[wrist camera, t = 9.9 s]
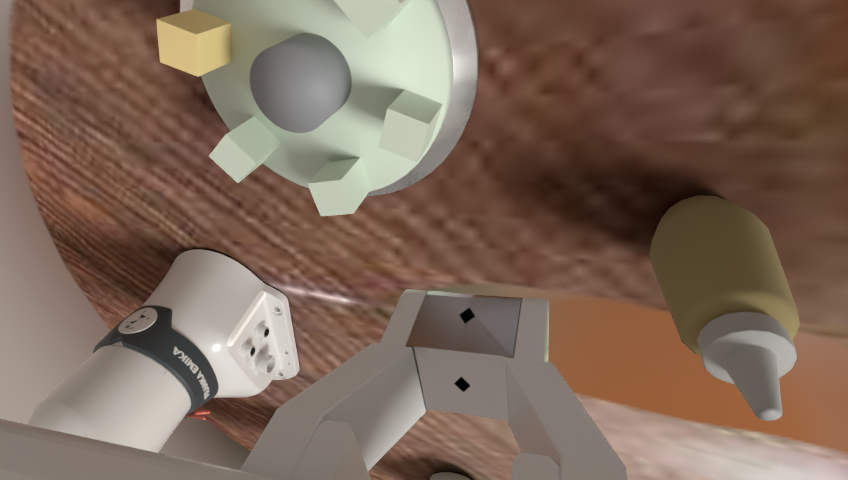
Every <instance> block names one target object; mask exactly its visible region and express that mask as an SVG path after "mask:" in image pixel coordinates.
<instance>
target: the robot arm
mask: <svg viewBox="0 0 848 480" xmlns="http://www.w3.org/2000/svg"><path fill="white" fill-rule="evenodd" d="M548 340H549V300H548V299H540V298H514V297H499V296H484V295H469V294H459V293H448V292H438V291H422V290H412V289H407V290H405V291H404V292H403V293H402V295H401V297H400V299H399V301H398V304H397V306H396V308H395V310H394V312H393V315H392V317H391V319H390V321H389V323H388V325H387V328H386V330H385V332H384V334H383V336H382V339H381V341H380V343H379V344H376V343H372V344H371V345H369V346H368V347H366V348H365V349H363V350H362V351H360V352H359V353H358V354H356V355H355V356H353V357H352V358H350V359H349V360H347V361H346V362H345V363H343V364H342V365H340V366H339V367H337V368H336V369H334V370H333V371H331V372H330V373H329V374H327V375H326V376H324V377H323V378H321V379H320V380H318V381H317V382H316V383H314V384H313V385H311V386H310V387H308V388H307V389H305V390H304V391H302V392H301V393H300V394H298V395H297V396H295V397H294V398H292V399H291V400H289V401H288V402H287V403H285V404H284V405H282V406H281V407H279V408H278V409H277V410H276V412H275V413H274V415H273V417H272V418H271V420H270V422H269V423H268V425H267V426H266V428H265V430H264V431H263V433H262V435H261V436H260V438H259V440H258V441H257V443H256V445H255V446H254V448H253V450H252V451H251V453H250V455H249V456H248V458H247V460H246V462H245V463H244V465H243V466H242V468H241V470H235V469H230V468H226V467H221V466H216V465H212V464H207V463H202V462H198V461H193V460H188V459H183V458H179V457H174V456H170V455H165V454H161V453H158V452H159V451H160V449H161V448H162V446H163V445H164V443H165V442H166V440H167V439H168V438H169V436H170V435H171V434H172V432H173V431H174V430H175V428H176V427H177V426H178V424H179V423H180V422H181V420H182V419H183V418H187V417H193V418H198V419H203V420H205V418H204V417H202V416H199V415H198V414H209V413H210V411H208V410H203V409H198V408H199V407H201V406H202V405H204V404H205V403H206V402H208V401H209V400H211V399H212V398H223V397H249V396H254V395H256V394H258V393H260V392H261V391H263V390H264V389H265V388H266V387H267V386H268V385H269V383H270V382H271V381H272V380H282V379H288V378H291V377H294V376H295V375H296V374H297V373H298V372H299V362H298V356H297V350H296V344H295V339H294V333H293V327H292V321H291V315H290V309H289V303H288V299H287V298H286V296H285V295H284V294H282V293H281V292H279V291H278V290H276V289H274V288H272V287H270V286H268V285H266V284H265V283H263V282H262V281H261V280H260V279H258V278H257V277H256V276H255V275H254V274H253V273H252V272H251V271H249V270H248V269H247V268H245V267H244V266H243V265H241V264H240V263H238V262H236V261H235V260H233V259H231V258H229V257H227V256H225V255H222V254H220V253H217V252H213V251H209V250H201V249H195V250H188V251H185V252H183V253H181V254H180V255H179V256H177V258H176V259H175V260H174V262H173V264H172V266H171V268H170V270H169V271H168V273H167V274H166V276H165V277H164V279H163V280H162V282H161V283H160V284H159V286H158V287H157V288H156V289H155V291H154V292H153V293H152V294H151V296H150V297H149V298H148V299H147V300H146V301H145V303H144V304H143V305H142V306H141V307H140V308H138V309H137V310H136V311H134V312H133V313H131V314H130V315H129V316H127V317H126V318H125V319H124V320H122V321H121V322H120V323H119V324H118V325H117V326H116V327H115V328H114V329H113V330H112V331H110V332H109V333H108V334H107V335H106V336H105V337H104V338H103V339H102V340H101V341H100V342H99V343H98V344H97V345H96V346H95V348H94V351H93V355H92V356H90V357H89V358H88V359H87V360H86V361H85V362H84V363H83V364H82V365H81V366H79V367H78V368H77V369H76V370H75V371H74V372H73V373H72V374H71V375H70V376H69V377H68V378H66V379H65V381H64V382H62V383H61V384H60V385H59V386H58V387H57V388H56V389H55V390H54V391H53V392H51V393H50V394H49V395H48V396H47V397H46V398H45V399H44V400H43V401H42V402H41V403H40V404H39V405H38V406H37V407H36V409H35V410H34V412H33V414H32V415H31V418H30V420H29V423H28V425H26V424H22V423H17V422H12V421H8V420H3V419H0V480H371V479H370V476H369V473H368V471H369V470H370V469H371V468H372V467H373V466H374V465H375V464H376V463H377V462H378V461H379V460H380V459H381V458H382V457H383V455H384V454H385V453H386V452H387V451H388V450H389V449H390V448H391V447H392V446H393V445H394V444H395V443H396V442H397V441H398V440H399V439H400V438H401V437H402V436H403V435H404V434H405V433H406V432H407V431H408V430H409V429H410V428H411V427H412V426H413V425H414V424H415V423H416V422H417V421H418V419H419V418H420V417H421V416H422V415H423V414H424V413H425V412H426V409H428V410H436V411H445V412H453V413H461V414H469V415H474V416H480V417H486V418H491V419H497V420H503V421H508V422H509V426H510V428H511V430H512V432H513V434H514V437H515V439H516V441H517V443H518V445H519V448H520V450H521V452H522V453H521V454H520V455H518V456H517V457H515V458H514V463H513V470H512V478H511V480H627V472H626V467H625V465H624V464H623V462H622V461H621V460H620V458H619V457H618V455H617V454H616V452H615V451H614V450H613V448H612V447H611V445H610V444H609V443H608V441H607V440H606V438H605V437H604V435H603V434H602V433H601V431H600V430H599V428H598V427H597V425H596V424H595V423H594V421H593V420H592V418H591V417H590V416H589V414H588V413H587V411H586V410H585V408H584V407H583V406H582V404H581V403H580V401H579V400H578V399H577V397H576V396H575V394H574V393H573V391H572V390H571V389H570V387H569V386H568V384H567V383H566V382H565V380H564V379H563V377H562V376H561V374H560V373H559V372H558V370H557V369H556V367H555V366H554V364H553V363H551V362H548V343H549V341H548Z"/></svg>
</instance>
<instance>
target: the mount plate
mask: <svg viewBox="0 0 848 480" xmlns="http://www.w3.org/2000/svg"><path fill="white" fill-rule="evenodd" d="M437 2H438V5H439V7H440V10H441V12H442V15H443V17H444V20H445V23H446V26H447V30H448V34H449V38H450V42H451V49H452V57H453V87H452V95H451V100H450V104H449V108H448V112H447V115H446V118H445V120H444V123H443V125H442V128H441V130H440V131H439V133H438V135H437V136H436V138H435V140H434V142H433V143H432V145H431V147H430V148H429V150H428V151H427V153H426V154H425V156H424V157H423V158H422V159H421V161H420V162H419V163H418V164H417V165H416V166H415V167H414V168H413V169H412V170H411V171H410V172H409V173H408V174H406V175H405V176H403V177H402V178H400V179H399V180H397V181H396V182H394V183H392V184H390V185H388V186H386V187H384V188H381V189H377V190H374V191H371V192H369V193H368V194H367V196H375V195H381V194H386V193H391V192H394V191H397V190H400V189H403V188H406V187H408V186H410V185H412V184H414V183H416V182H418V181H420V180H421V179H422V178H424V177H425V176H427V175H428V174H430V173H431V172H432V171H433V170H434V169H435V168H437V167H438V166H439V165H440V164H441V163H442V162H443V161H444V160H445V158H446V157H447V156H448V155H449V153H450V152H451V151H452V150H453V148H454V147H455V145H456V143H457V142H458V140H459V138H460V136H461V135H462V133H463V131H464V129H465V127H466V124H467V122H468V120H469V117H470V115H471V112H472V109H473V105H474V101H475V97H476V93H477V87H478V78H479V45H478V38H477V30H476V25H475V21H474V17H473V13H472V9H471V6H470V3H469V0H437ZM192 5H193V0H180V13H181V12H185V11H188V10H192Z"/></svg>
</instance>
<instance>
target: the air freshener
mask: <svg viewBox="0 0 848 480" xmlns="http://www.w3.org/2000/svg"><path fill="white" fill-rule="evenodd" d="M430 480H471V479H469V478H467V477H465V476H463V475H461V474H457V473H452V472H440V473H436V474H433V475H432V476H431V478H430Z"/></svg>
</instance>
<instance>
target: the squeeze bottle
mask: <svg viewBox="0 0 848 480" xmlns="http://www.w3.org/2000/svg"><path fill="white" fill-rule="evenodd" d="M649 258H650V261H651V263H652V266H653V269H654V272H655V274H656V277H657V280H658V282H659V285H660V287H661V290H662V292H663V295H664V297H665V300H666V302H667V305H668V307H669V310H670V313H671V315H672V318H673V320H674V323H675V325H676V328H677V330H678V333H679V335H680V338H681V341H682V342H683V343H684V344H685V345H686V346H687V347H688V348H690V350H692V351H693V352H694V353H696V354H698V355H701V357H702V361H703V364H704V367H705V369H706V370H707V371H709V372H710V373H711V374H712V375H713V376H714V377H716V378H718V379H721V380H723V381H726V382H728V383H733V384H735V385H736V386H737V388H738V389H739V391H740V392H741V394H742V395H743V397H744V399H745V400H746V401H747V403H748V404H749V406H750V408H751V409H752V411H753V412H754V414H755V415H756V416H757V417H758V418H759V419H762V420H766V421H771V420H776V419H778V418H780V417H781V415H782V406H781V396H780V386H779V378H780V377H781V376H783V375H784V374H785V373H787V372H788V371H789V370H791V369H792V367H793V365H794V363H795V361H796V359H797V355H796V350H795V346H794V344H793V342H792V340H793V339H794V337H795V335H796V333H797V330H798V328H799V326H800V322H799V317H798V312H797V308H796V305H795V302H794V300H793V297H792V294H791V291H790V288H789V285H788V283H787V280H786V277H785V274H784V271H783V269H782V266H781V263H780V260H779V257H778V254H777V252H776V249H775V246H774V243H773V240H772V238H771V235H770V232H769V229H768V228H767V227H766V226H765V225H764V224H763V223H762V222H761V221H760V220H759V218H758V217H757V216H756V215H755V214H753V213H751V212H749V211H747V210H745V209H743V208H741V207H739V206H737V205H735V204H733V203H732V202H730V201H727V200H725V199H722V198H719V197H717V196H703V195H698V196H694V197H691V198H687V199H683V200H681V201H679V202H678V203H676V204H675V205H673V206H672V207H670V208H669V209H668V210H667V212H666V213H665V214H664V215H663V217H662V218H661V220H660V222H659V224H658V227H657V229H656V232H655V234H654V236H653V239H652V243H651V248H650V253H649Z"/></svg>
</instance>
